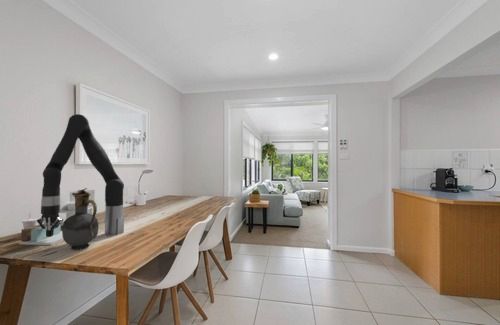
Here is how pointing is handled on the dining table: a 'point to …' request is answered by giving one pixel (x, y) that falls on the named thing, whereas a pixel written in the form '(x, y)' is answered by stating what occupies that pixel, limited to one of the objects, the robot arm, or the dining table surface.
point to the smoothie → (29, 222)
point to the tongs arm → (42, 233)
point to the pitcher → (81, 223)
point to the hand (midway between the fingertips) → (49, 236)
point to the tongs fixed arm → (27, 233)
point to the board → (45, 240)
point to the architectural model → (73, 203)
